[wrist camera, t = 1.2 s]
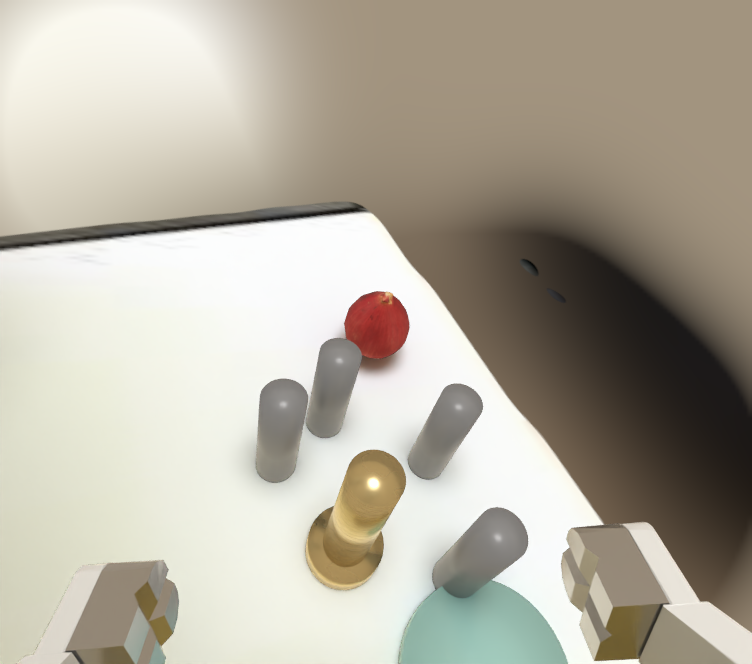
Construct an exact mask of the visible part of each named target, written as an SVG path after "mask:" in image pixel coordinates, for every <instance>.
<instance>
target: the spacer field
mask: <svg viewBox="0 0 752 664" xmlns="http://www.w3.org/2000/svg"><path fill="white" fill-rule="evenodd" d="M361 360H362V353H361V351H360V349H359V347H358V346H357V345H356V344H354V343H353V342H351V341H349V340H347V339H343V338H334V339H330V340H328V341H326V342H325V343H324V344H323V345H322V346H321V348H320V352H319V357H318V362H317V367H316V372H315V377H314V383H313V388H312V393H311V398H310V403H309V408H308V413H307V418H306V424H307V427H308V429H309V431H310V432H311V433H312V434H314V435H315V436H318V437H321V438H329V437H332V436H335V435H336V434H337V433H338V432H339V431H340V429H341V427H342V424H343V420H344V417H345V414H346V410H347V407H348V404H349V400H350V397H351V394H352V390H353V387H354V384H355V380H356V377H357V374H358V370H359V367H360V364H361ZM307 403H308V395H307V392H306V390H305V389H304V387H303V386H302V385H301V384H299V383H298V382H296V381H293V380H290V379H277V380H274V381H271V382H270V383H268V384H267V385H266V386H265V387H264V388H263V389H262V391H261V394H260V404H259V420H258V436H257V452H256V470H257V472H258V474H259V475H260V476H261V477H262V478H263V479H264V480H266V481H269V482H281V481H284V480H286V479H288V478H289V477H290V476H291V475H292V474H293V472H294V470H295V466H296V461H297V456H298V451H299V445H300V440H301V435H302V430H303V424H304V419H305V414H306V409H307ZM482 410H483V403H482V400H481V398H480V396H479V395H478V394H477V392H476V391H474V390H473V389H472V388H470V387H468V386H466V385H463V384H451V385H448V386H447V387H445V388H444V390H443V391H442V393H441V395H440V397H439V399H438V401H437V403H436V404H435V406H434V408H433V410H432V412H431V414H430V416H429V418H428V419H427V421H426V423H425V425H424V427H423V429H422V431H421V433H420V434H419V436H418V438H417V440H416V442H415V444H414V446H413V447H412V449H411V451H410V453H409V456H408V464H409V467H410V469H411V470H412V471H413V473H414V474H416V475H417V476H418V477H420V478H423V479H434V478H436V477H438V476H439V475H440V474H441V472H442V471H443V469H444V468H445V467H446V465H447V464H448V462H449V461H450V459H451V458H452V456H453V455H454V453H455V452H456V450H457V449H458V447H459V446H460V444H461V443H462V441H463V440H464V438H465V437H466V435H467V434H468V432H469V431H470V429H471V428H472V426H473V425H474V423H475V422H476V420H477V419H478V417H479V416H480V414H481V413H482ZM527 546H528V535H527V532H526V529H525V527H524V525H523V523H522V522H521V520H520V519H519V518H518V517H517V516H516V515H515V514H513V513H512V512H510V511H509V510H507V509H504V508H498V507H496V508H490V509H488V510H486V511H485V512H484V513H483V514H482V515H481V516H480V517H479V518H478V519H477V520H476V521H475V522H474V523H473V525H472V526H471V527H470V528H469V529H468V530H467V531H466V532H465V533H464V534H463V535H462V536H461V537H460V538H459V540H458V541H457V542H456V543H455V544H454V545H453V546H452V547H451V548H450V549H449V550H448V551H447V552H446V553H445V555H444V556H443V557H442V558H441V559H440V560H439V561H438V562H437V563H436V565H435V567H434V569H433V576H432V577H433V583H434V586H435V588H436V590H437V589H438V588H440V587H443V588H444V589H445V590H446V591H447V592H448V593H449V594H451V595H452V596H454V597H457V598H467V597H469V596H471V595H473V594H474V593H475V592H476V591H478V590H479V589H480V588H482V587H483V586H484V585H486V584H487V583H488V582H489V581H491V580H492V579H493V578H495V577H496V576H497V575H498V574H500V573H501V572H502V571H504V570H505V569H506V568H507V567H509V566H510V565H511V564H513V563H514V562H515V561H517V560H518V559H519V558H520V557H522V556H523V555H524V553H525V552H526V550H527Z"/></svg>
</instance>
